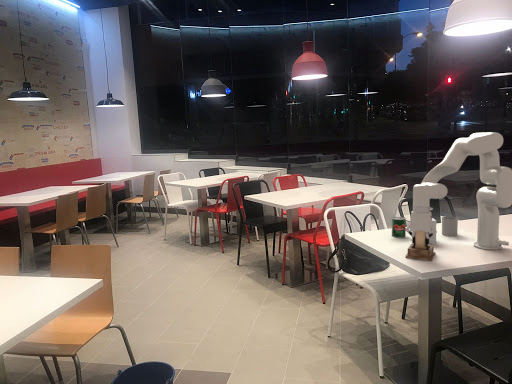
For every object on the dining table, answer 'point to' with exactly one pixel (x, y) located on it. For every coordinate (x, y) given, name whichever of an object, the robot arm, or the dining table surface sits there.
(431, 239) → the supplement box
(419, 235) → the tan rectangular block
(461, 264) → the dining table surface
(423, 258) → the brown wooden box
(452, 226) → the cup
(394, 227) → the canned tomato
